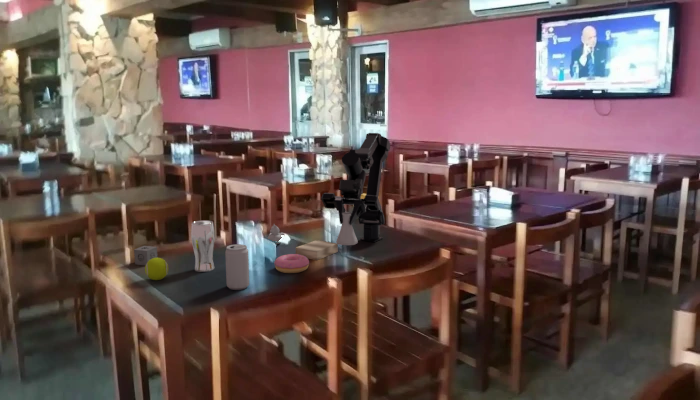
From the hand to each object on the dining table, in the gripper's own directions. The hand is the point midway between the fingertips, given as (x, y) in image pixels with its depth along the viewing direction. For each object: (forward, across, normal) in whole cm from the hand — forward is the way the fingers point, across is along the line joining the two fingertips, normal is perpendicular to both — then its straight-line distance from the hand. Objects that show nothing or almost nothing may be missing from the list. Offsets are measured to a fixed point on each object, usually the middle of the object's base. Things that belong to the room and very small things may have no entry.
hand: (345, 223), depth 189 cm
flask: (+4, 0, +6) cm, 7 cm away
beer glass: (+22, -41, -4) cm, 47 cm away
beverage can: (+31, -23, -13) cm, 40 cm away
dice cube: (+22, -63, -3) cm, 66 cm away
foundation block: (+4, -13, +15) cm, 20 cm away
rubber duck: (-2, -32, +21) cm, 38 cm away
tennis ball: (+32, -49, -13) cm, 60 cm away
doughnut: (+17, -14, +2) cm, 22 cm away
